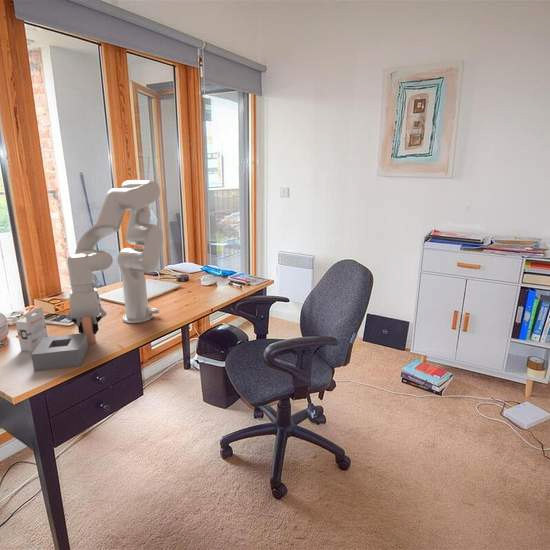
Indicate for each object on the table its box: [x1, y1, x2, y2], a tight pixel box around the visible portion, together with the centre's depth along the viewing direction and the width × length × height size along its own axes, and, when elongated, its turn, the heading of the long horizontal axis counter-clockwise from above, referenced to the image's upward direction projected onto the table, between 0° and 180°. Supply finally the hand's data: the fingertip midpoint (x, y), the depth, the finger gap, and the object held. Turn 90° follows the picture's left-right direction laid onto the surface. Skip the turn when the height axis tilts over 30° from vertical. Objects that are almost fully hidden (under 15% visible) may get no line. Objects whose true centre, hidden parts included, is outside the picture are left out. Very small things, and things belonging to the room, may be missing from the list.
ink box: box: [14, 306, 49, 353], centre depth 145 cm, size 9×5×15 cm, turn 170°
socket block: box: [30, 333, 89, 372], centre depth 137 cm, size 14×14×6 cm
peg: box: [81, 317, 97, 346], centre depth 149 cm, size 4×4×13 cm
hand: (89, 333), depth 149 cm, fingers closed on peg, 4 cm apart
